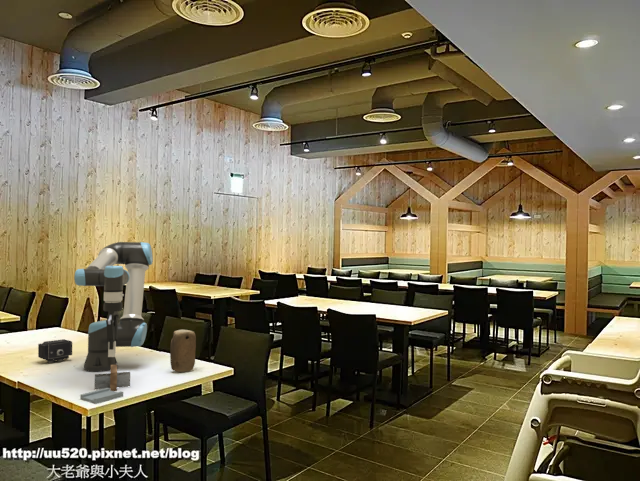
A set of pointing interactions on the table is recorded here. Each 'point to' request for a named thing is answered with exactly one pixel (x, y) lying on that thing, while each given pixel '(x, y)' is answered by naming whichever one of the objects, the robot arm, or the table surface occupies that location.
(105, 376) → the grey rectangular block
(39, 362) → the table surface
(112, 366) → the beam
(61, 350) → the camera
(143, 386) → the table surface
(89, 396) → the tray
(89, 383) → the table surface
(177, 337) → the stone
